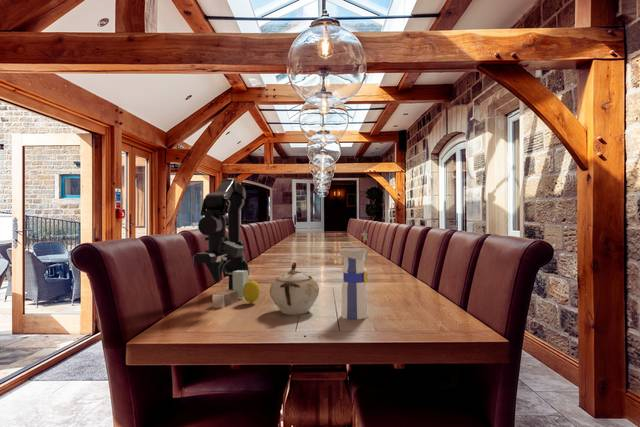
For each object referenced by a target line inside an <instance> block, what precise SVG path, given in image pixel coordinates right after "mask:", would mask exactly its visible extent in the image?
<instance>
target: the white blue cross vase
mask: <svg viewBox="0 0 640 427" xmlns="http://www.w3.org/2000/svg"><path fill="white" fill-rule="evenodd" d="M368 235H369V233H367V232H366V230H365V229H363V233H361V236H362V237H363V240H362V242H366V241H368V237H367V236H368ZM339 256H342V257H343V267H342V268H341V271H342V275H343V277H342V283H341V284H342V285H341V316H340V317H341V319H342V318H343V319H346V320H363V319H367V318H368V317H369V313H368V298H367V297H368V291H367V288H368V287H367V282H368V271H367V268H366V267H365V260H367V258H368V256H369V254H368V250H367V249H366V248H362V247H360V248H358V247H346V248H344V247H343V248H341V249H340V252H339Z"/></svg>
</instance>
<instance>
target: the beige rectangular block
mask: <svg viewBox="0 0 640 427" xmlns="http://www.w3.org/2000/svg"><path fill="white" fill-rule="evenodd" d="M238 302H239V299H238V290H229V289H225V290H222V291H219V292H217V293H213V294H212V308H218V307H219V308H222V309H224V308H226V307H228V306H232V305H233V304H236V303H238Z"/></svg>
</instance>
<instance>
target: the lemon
mask: <svg viewBox="0 0 640 427" xmlns="http://www.w3.org/2000/svg"><path fill="white" fill-rule="evenodd" d="M260 294H261V290H260V285H259V283H258V282H257V281H255V280H253V279H249V280H248V282H246V283H245V285H244V287H243V296H244V298H245V299H244V300H245V301H247V302H249V303H250V304H254V303H255V302H256V301H257V300H258V299H259V297H260Z"/></svg>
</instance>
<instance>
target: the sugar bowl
mask: <svg viewBox="0 0 640 427" xmlns="http://www.w3.org/2000/svg"><path fill="white" fill-rule="evenodd" d="M296 269H297V263H296V262H293V263H292V264H291V269H290V270H289V271H288V272H287V273H285V274H283V275H282V274H281V276H277V277H276V278H275V279H274V280H273V282H271V285H270V287H269V295H270V298H271V300H272V302H273V303H274V305H276V307H277V308H278V309H279V311H280V312H281V313H282V314H283V315H291V316H292V315H297V316H298V315H304V314H306V313H307V314H308V312H309V311H310V309H311V308H312V307H313V305H314V304H315V302H316V300H317V298H318V296H319V293H320V286H319V284H318V281H316V280H315V279H314V278H313V277H312V276H310V275H308V274H305V273H302V272H300V271H297V270H296Z"/></svg>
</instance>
